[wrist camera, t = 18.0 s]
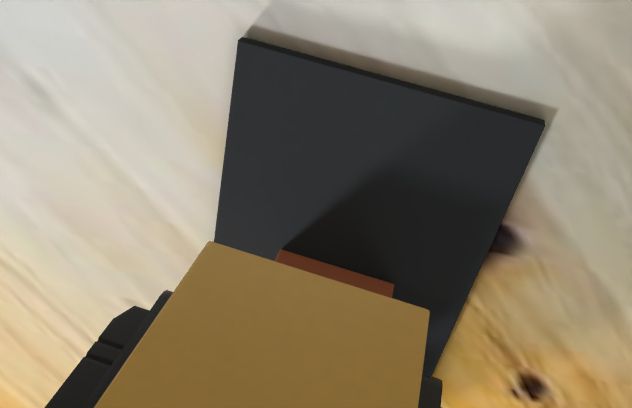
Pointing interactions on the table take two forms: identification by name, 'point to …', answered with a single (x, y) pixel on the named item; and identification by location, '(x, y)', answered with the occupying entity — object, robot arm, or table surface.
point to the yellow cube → (273, 342)
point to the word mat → (368, 176)
